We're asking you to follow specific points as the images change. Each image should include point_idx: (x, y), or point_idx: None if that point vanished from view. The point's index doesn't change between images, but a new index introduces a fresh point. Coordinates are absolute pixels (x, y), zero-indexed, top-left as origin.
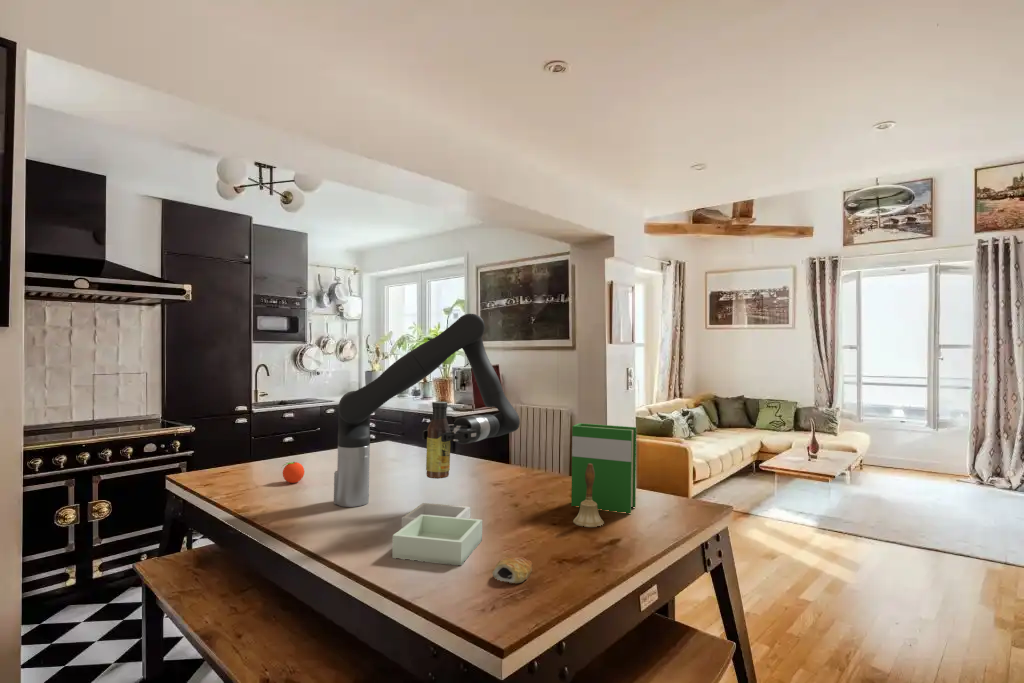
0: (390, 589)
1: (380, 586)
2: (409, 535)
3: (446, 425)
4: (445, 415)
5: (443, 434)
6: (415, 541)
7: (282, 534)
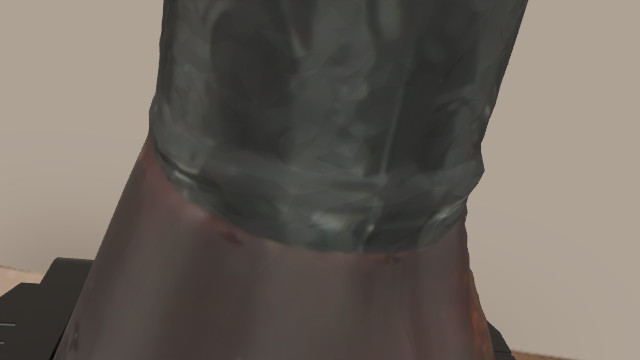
0: (8, 272)
1: (41, 273)
2: None
3: (98, 254)
4: (158, 71)
5: (65, 259)
6: None
7: (520, 355)
